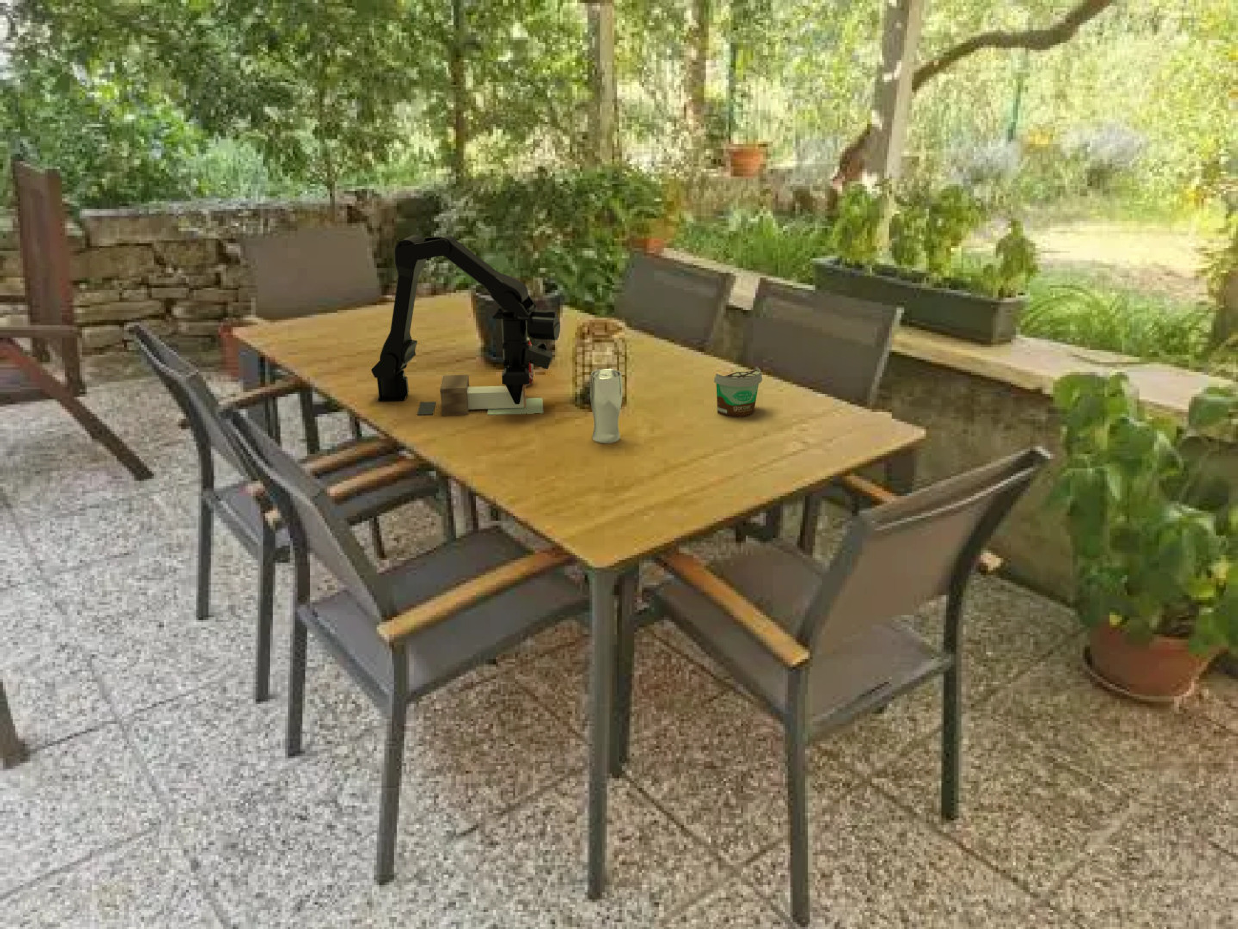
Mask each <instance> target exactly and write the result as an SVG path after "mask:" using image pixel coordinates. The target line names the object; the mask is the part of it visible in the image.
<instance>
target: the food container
mask: <svg viewBox="0 0 1238 929" xmlns="http://www.w3.org/2000/svg"><path fill="white" fill-rule="evenodd" d="M762 381H763V376H762V370H761V369H760V368H759V367H758V366H755V369H754V370H751V371H750V370H749V371H736V372H733V373H729V374H728V375H727V374H726V375H722V374H718V373H715V376H714V380H713V383H715V384H716V385H715V386H716V409H717V414H718V415H720V416H724V417H729V418H747V417H749V416H752V415H753V414H754V413H755V408H756V402H757V396H758V391H759V390H758V389H759V385H760V384H761V382H762Z"/></svg>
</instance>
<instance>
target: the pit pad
mask: <svg viewBox="0 0 1238 929" xmlns="http://www.w3.org/2000/svg"><path fill="white" fill-rule="evenodd" d="M436 404H437V401H421V402H420V404H419V407H418V410H417V414H416V415H417V416H433V415H434V413H435V407H436Z"/></svg>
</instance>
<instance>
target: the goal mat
mask: <svg viewBox="0 0 1238 929" xmlns="http://www.w3.org/2000/svg"><path fill="white" fill-rule="evenodd" d="M543 401H544V400H543V397H526V407H524V408H495V409H487V416H497V415H498V416H502V415H504V416H505V415H528V414H529V415H530V414H531V415H532V414H534V413H540V414H544V403H543ZM526 413H527V414H526ZM534 415H535V414H534Z"/></svg>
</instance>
